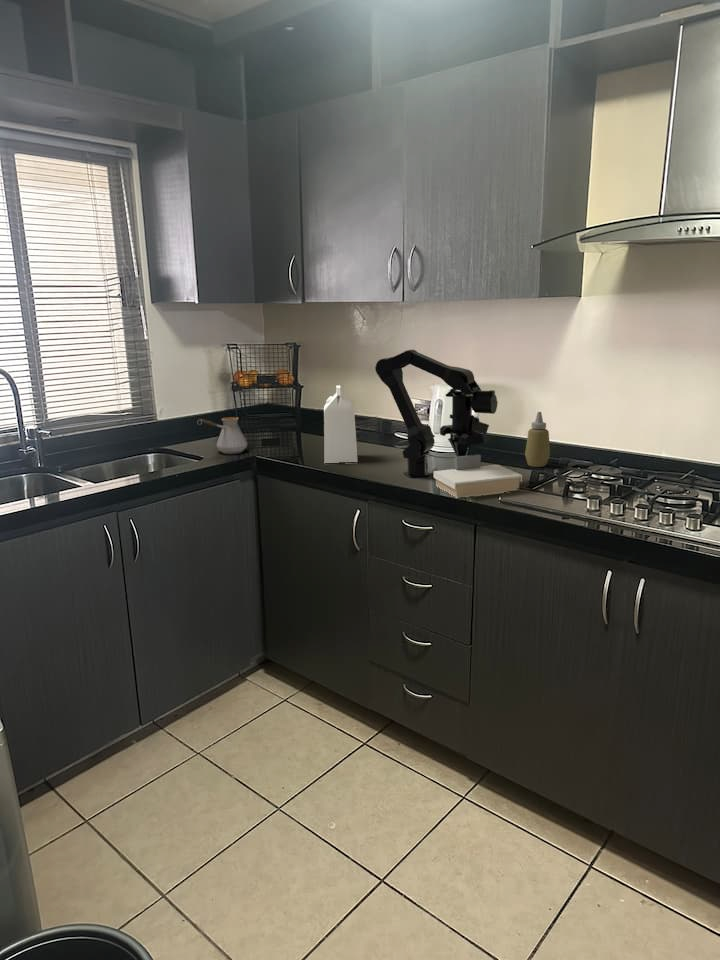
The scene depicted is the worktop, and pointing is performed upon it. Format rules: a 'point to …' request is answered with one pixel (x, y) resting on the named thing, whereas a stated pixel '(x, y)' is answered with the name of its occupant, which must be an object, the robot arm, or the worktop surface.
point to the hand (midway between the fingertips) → (461, 461)
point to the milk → (339, 430)
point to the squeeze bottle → (538, 443)
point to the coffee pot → (229, 436)
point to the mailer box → (480, 487)
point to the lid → (473, 472)
